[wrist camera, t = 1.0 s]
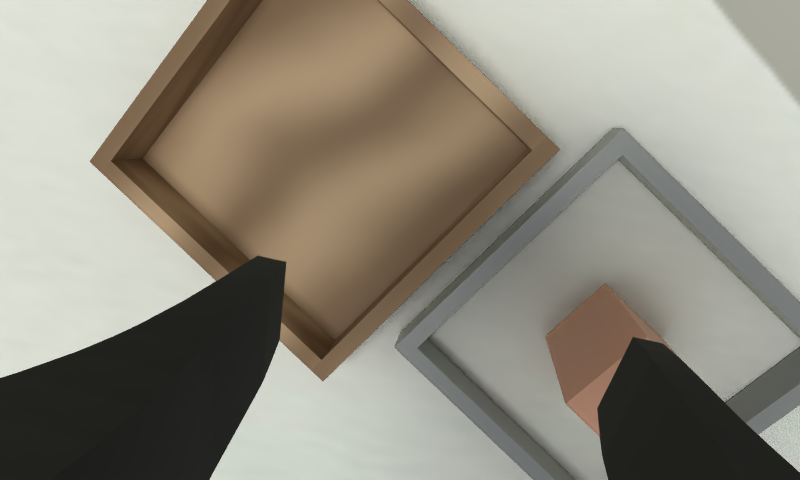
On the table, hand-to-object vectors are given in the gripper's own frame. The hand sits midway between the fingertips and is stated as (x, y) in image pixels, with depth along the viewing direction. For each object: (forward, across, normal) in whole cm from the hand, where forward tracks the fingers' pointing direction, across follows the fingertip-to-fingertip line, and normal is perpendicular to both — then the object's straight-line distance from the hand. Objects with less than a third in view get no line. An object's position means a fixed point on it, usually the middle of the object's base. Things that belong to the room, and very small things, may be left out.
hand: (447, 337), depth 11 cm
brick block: (+14, -9, +9) cm, 19 cm away
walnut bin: (+17, +6, +3) cm, 18 cm away
